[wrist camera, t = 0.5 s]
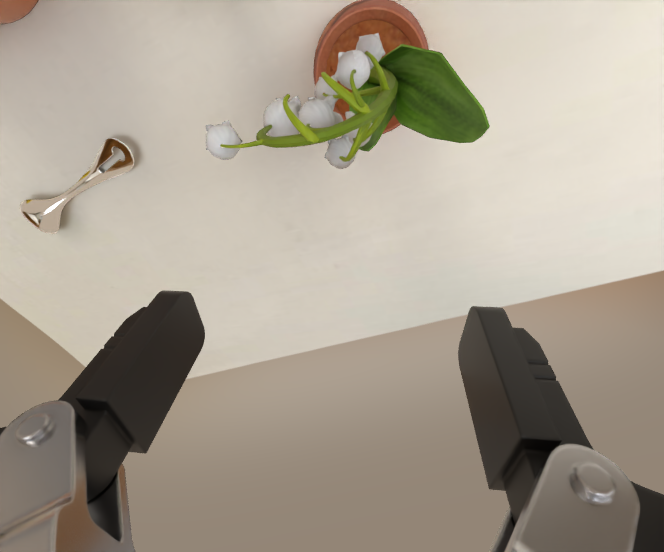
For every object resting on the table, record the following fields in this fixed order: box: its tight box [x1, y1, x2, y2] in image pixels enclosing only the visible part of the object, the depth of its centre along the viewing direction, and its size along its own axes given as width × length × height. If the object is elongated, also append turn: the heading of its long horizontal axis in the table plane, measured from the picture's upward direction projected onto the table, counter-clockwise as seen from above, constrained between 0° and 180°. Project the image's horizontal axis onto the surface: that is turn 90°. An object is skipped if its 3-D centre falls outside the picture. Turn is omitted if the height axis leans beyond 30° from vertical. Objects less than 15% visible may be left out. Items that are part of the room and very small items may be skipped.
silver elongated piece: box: [20, 138, 135, 234], centre depth 39 cm, size 20×4×5 cm
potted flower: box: [206, 0, 490, 169], centre depth 21 cm, size 12×10×25 cm
